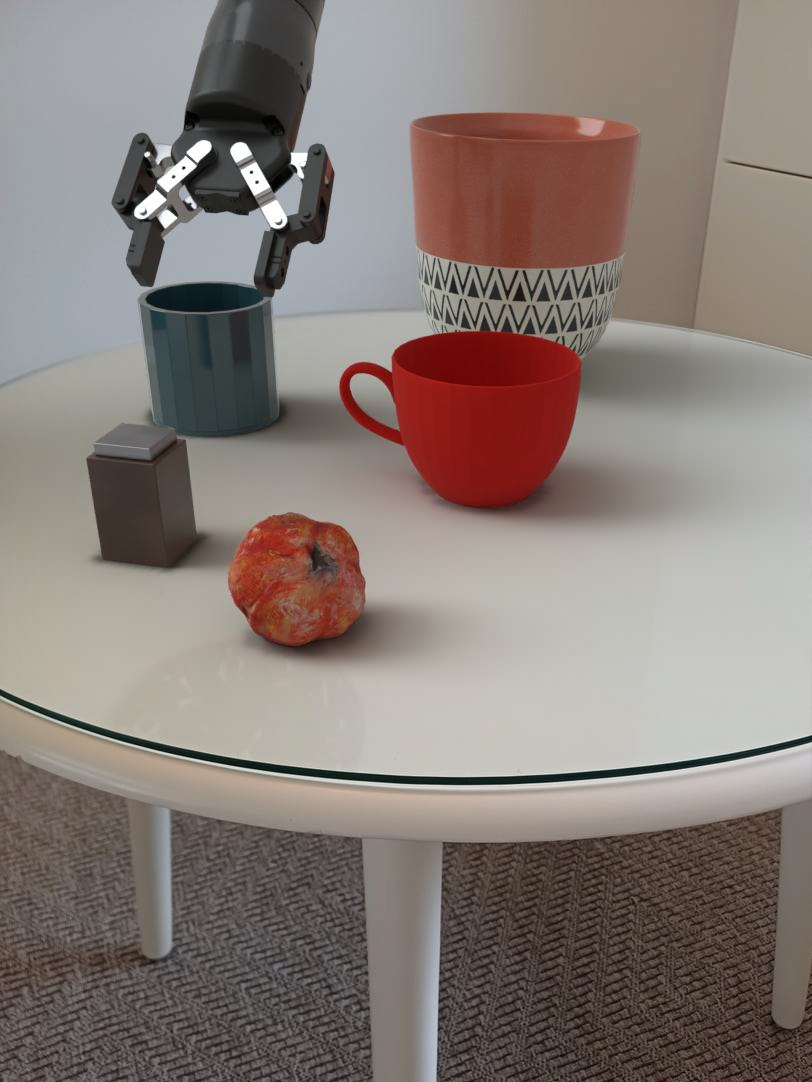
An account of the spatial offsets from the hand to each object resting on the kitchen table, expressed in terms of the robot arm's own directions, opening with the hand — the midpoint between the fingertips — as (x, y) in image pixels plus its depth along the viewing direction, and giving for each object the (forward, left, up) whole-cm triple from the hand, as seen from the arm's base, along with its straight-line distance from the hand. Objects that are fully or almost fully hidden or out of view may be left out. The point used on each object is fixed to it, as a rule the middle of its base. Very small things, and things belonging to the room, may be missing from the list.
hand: (201, 285), depth 74 cm
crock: (-2, +14, -14) cm, 20 cm away
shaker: (-3, -11, -14) cm, 18 cm away
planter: (+24, +26, -14) cm, 38 cm away
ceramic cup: (+17, -1, -14) cm, 22 cm away
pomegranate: (+7, -21, -14) cm, 26 cm away
